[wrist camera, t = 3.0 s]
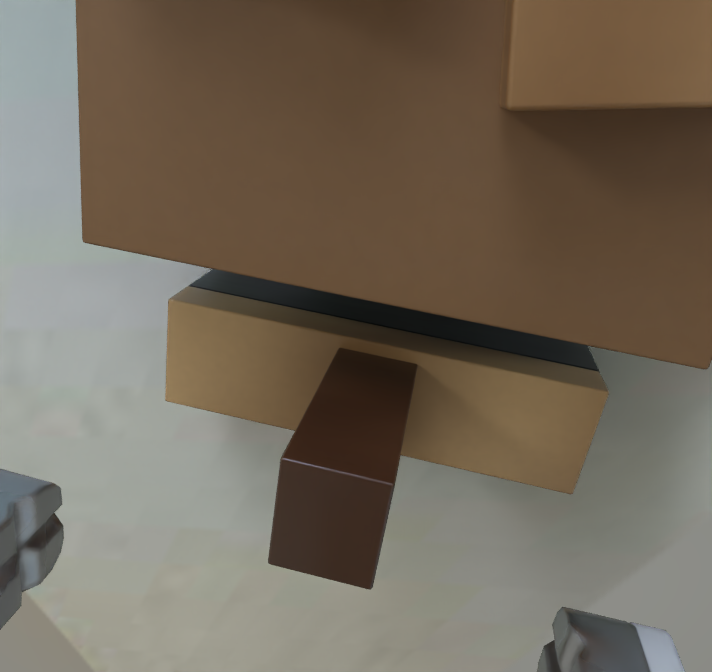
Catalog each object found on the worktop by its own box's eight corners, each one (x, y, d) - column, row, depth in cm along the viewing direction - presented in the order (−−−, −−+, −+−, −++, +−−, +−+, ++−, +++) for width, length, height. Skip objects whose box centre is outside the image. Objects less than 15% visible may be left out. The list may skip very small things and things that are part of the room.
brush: (586, 341, 17) (677, 535, 9) (556, 431, 18) (617, 667, 11) (216, 265, 18) (36, 385, 11) (210, 355, 19) (45, 519, 12)
